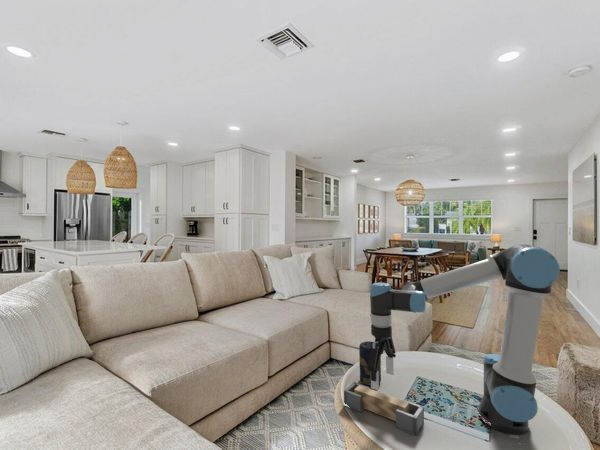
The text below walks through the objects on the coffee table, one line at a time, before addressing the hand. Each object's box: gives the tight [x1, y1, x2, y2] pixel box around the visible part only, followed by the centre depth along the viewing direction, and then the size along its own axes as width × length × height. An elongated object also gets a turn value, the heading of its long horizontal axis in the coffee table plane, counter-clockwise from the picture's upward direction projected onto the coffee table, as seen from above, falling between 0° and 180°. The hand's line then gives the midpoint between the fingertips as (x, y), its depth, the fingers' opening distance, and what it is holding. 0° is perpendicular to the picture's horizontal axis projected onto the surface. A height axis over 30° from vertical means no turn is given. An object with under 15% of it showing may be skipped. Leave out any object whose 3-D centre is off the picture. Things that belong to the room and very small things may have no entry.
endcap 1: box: [343, 381, 371, 413], centre depth 122 cm, size 7×8×6 cm
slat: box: [354, 385, 409, 422], centre depth 116 cm, size 20×4×6 cm, turn 52°
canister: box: [358, 340, 382, 386], centre depth 139 cm, size 10×10×18 cm
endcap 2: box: [395, 399, 425, 437], centre depth 109 cm, size 7×8×6 cm
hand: (382, 381), depth 116 cm, fingers open, 13 cm apart
